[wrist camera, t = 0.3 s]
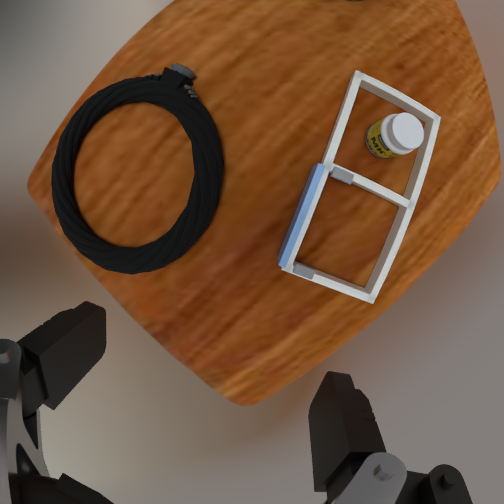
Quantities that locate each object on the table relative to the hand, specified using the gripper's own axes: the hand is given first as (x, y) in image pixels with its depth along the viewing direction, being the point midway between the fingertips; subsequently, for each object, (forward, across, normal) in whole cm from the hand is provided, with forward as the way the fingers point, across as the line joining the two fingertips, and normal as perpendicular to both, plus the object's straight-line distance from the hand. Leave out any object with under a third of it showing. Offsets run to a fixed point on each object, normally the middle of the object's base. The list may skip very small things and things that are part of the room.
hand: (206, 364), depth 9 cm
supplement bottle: (+28, -13, -16) cm, 35 cm away
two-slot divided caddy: (+28, -12, -9) cm, 32 cm away
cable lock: (+28, +19, -5) cm, 34 cm away
